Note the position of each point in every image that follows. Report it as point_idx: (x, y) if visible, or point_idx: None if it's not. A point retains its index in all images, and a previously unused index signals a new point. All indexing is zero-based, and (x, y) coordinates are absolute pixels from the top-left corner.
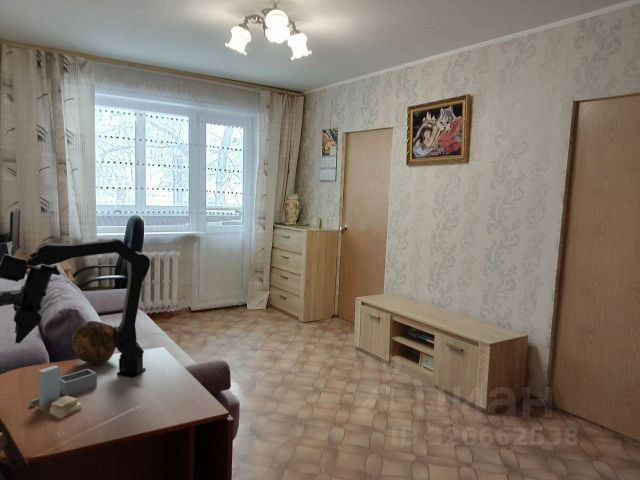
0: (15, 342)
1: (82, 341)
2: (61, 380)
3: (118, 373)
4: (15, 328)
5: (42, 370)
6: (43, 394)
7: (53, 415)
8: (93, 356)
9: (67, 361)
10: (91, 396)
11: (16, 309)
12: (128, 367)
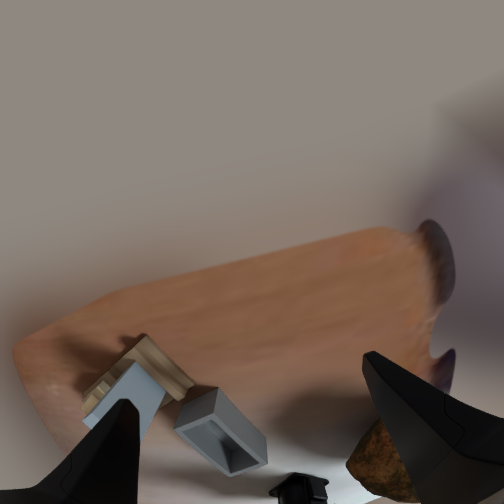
0: (118, 399)
1: (384, 465)
2: (191, 423)
3: (292, 477)
4: (380, 372)
5: (94, 421)
6: (111, 386)
7: (94, 385)
8: (349, 459)
9: (425, 360)
10: (186, 444)
11: (501, 477)
12: (281, 500)
